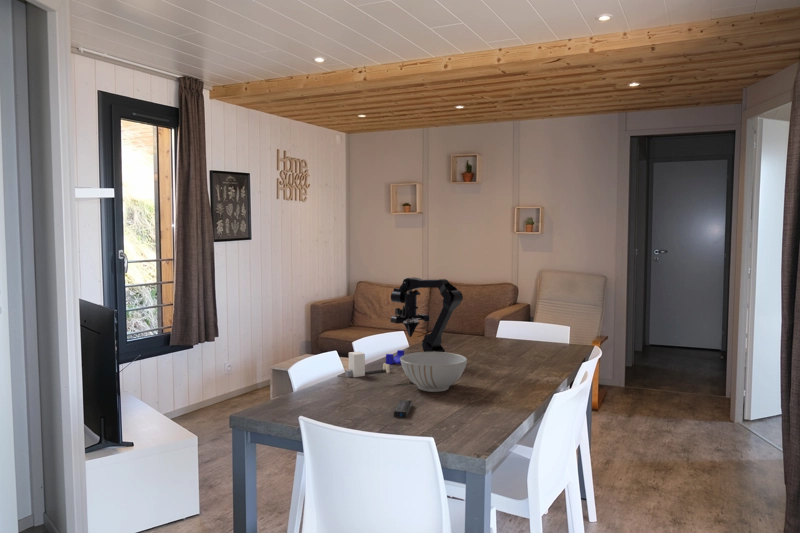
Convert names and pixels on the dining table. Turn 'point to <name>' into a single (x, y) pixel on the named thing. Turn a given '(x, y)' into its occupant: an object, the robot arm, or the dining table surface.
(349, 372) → the cord board
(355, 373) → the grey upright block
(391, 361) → the cable clip
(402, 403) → the multiport hub
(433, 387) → the decorative bowl
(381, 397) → the dining table surface
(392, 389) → the dining table surface
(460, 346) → the dining table surface
